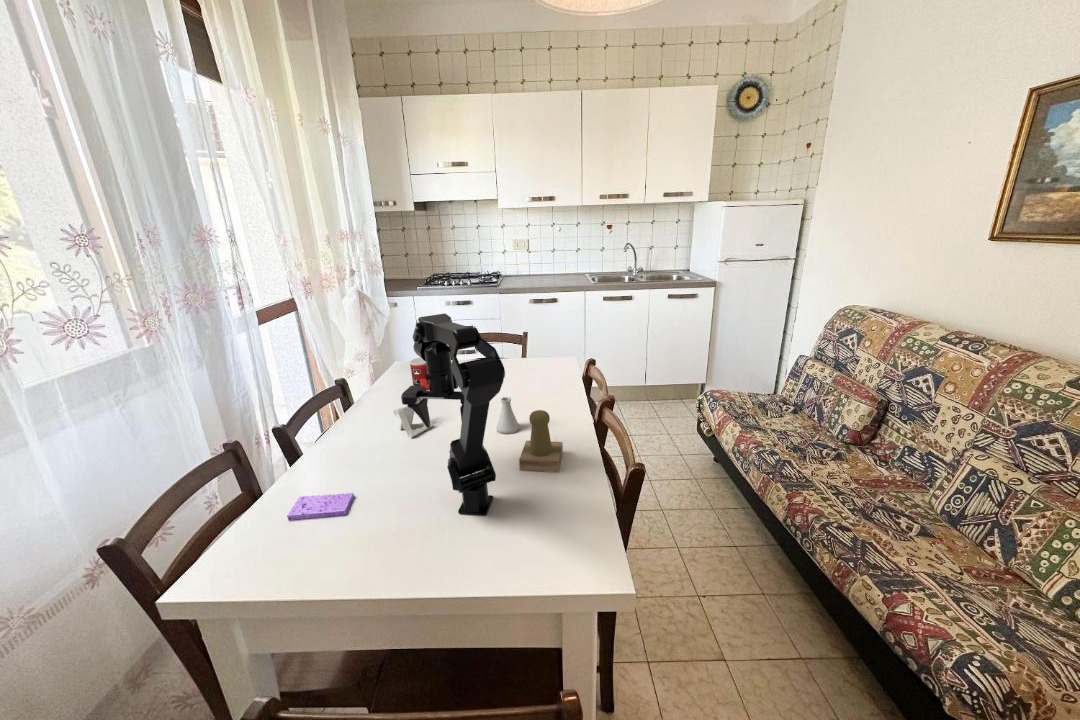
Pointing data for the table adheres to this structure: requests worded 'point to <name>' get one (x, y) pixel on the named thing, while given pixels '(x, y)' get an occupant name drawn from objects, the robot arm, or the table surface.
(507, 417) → the flask
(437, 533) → the table surface
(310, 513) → the sponges
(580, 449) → the table surface
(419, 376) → the canned food
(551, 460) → the walnut block
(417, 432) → the portable electronic device stand
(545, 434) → the olive pawn
